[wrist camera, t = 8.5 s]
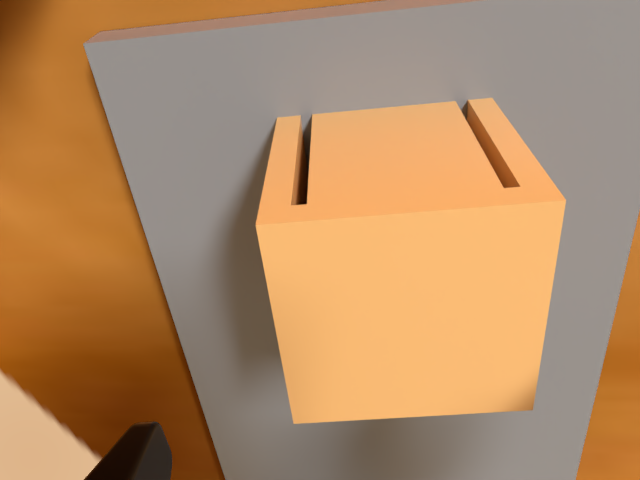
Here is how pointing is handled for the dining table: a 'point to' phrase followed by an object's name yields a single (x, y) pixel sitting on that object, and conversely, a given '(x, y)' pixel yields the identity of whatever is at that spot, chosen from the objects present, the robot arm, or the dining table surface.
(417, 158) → the orange grooved cube
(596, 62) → the grey base plate
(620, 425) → the dining table surface
